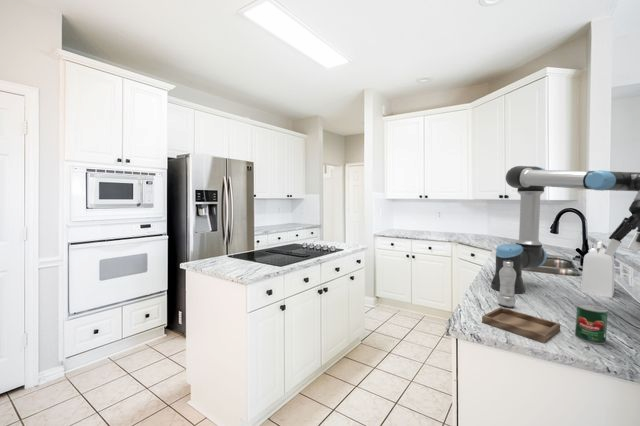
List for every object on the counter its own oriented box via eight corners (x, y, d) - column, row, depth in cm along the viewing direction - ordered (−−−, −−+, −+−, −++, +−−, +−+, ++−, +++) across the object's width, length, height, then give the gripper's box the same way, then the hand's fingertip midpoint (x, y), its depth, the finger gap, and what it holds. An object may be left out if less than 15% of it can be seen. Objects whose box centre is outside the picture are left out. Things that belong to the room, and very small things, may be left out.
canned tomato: (581, 341, 99) (582, 309, 98) (570, 331, 106) (572, 301, 106) (611, 346, 96) (613, 313, 95) (598, 335, 103) (600, 304, 103)
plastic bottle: (509, 309, 127) (512, 263, 126) (494, 304, 133) (496, 260, 132) (518, 307, 130) (520, 262, 129) (503, 302, 136) (504, 259, 135)
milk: (611, 297, 143) (615, 244, 142) (580, 291, 152) (583, 241, 150) (614, 292, 151) (617, 242, 150) (584, 287, 160) (586, 239, 158)
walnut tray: (482, 322, 114) (482, 316, 113) (500, 312, 123) (500, 307, 123) (544, 343, 98) (544, 336, 97) (560, 330, 107) (560, 323, 107)
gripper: (688, 199, 97) (658, 254, 96) (635, 216, 120) (610, 261, 119) (660, 189, 100) (630, 242, 99) (614, 208, 123) (589, 251, 122)
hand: (619, 252), depth 109 cm, fingers open, 13 cm apart
